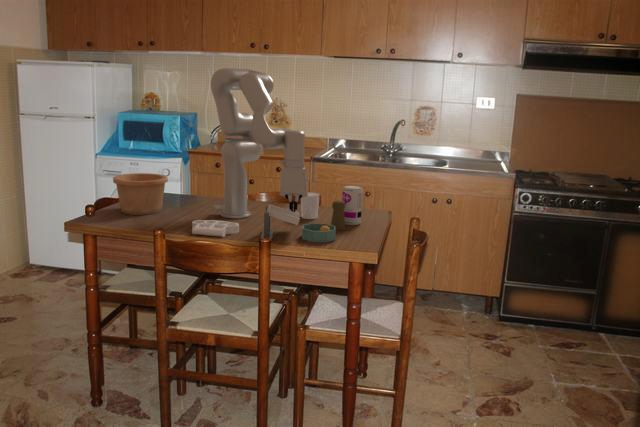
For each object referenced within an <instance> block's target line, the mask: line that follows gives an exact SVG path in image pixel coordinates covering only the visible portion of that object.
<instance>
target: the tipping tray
mask: <svg viewBox="0 0 640 427" xmlns="http://www.w3.org/2000/svg"><path fill="white" fill-rule="evenodd" d="M267 207H268V209H267V213H269V216H270V218H274V219H278V220H280V221H284V222H286V223H290V224H293V225H295V226H298V225H299V223H300V219H301V218H300V217H301V216H300V215H301V214H300V212H299V211H298V210H295V212H294V209H293V211H291V210H289V207H286V208H284V207H281V206H277V205H274V204H271V203H268V206H267Z"/></svg>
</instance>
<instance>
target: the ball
mask: <svg viewBox="0 0 640 427" xmlns="http://www.w3.org/2000/svg"><path fill="white" fill-rule="evenodd" d="M329 230H330V228H329V227H328V226H322V227H321V228H320V230H319V231H329Z"/></svg>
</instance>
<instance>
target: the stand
mask: <svg viewBox="0 0 640 427" xmlns="http://www.w3.org/2000/svg"><path fill="white" fill-rule="evenodd" d="M267 209H268V206H265V212H264V215H263V216H264V217H263V228H262V231H261V233H260V234H261V235H260V238H259V240H260V239H261V238H266V237H267V238H270V239H271V241H272V240H273V235H274V229H273V228H271V216H269V213H267ZM272 242H273V241H272Z"/></svg>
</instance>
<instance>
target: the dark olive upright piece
mask: <svg viewBox="0 0 640 427" xmlns="http://www.w3.org/2000/svg"><path fill="white" fill-rule="evenodd" d="M331 206H332V209H333V210H332V217H331V222H330V225H333V226H335V227H336V231H344V230H346V224H345V218H344V209H345V202H344V201H342V200H334V201H332V204H331Z"/></svg>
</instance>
